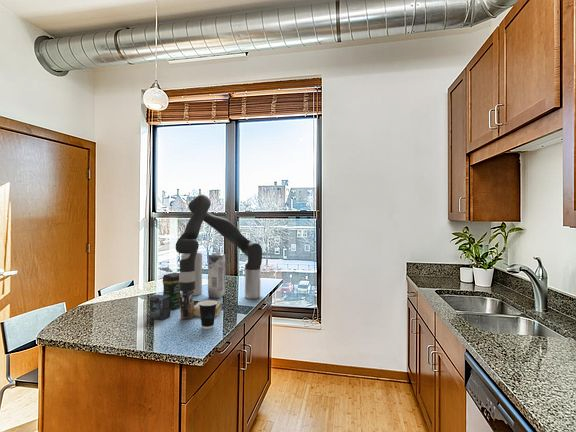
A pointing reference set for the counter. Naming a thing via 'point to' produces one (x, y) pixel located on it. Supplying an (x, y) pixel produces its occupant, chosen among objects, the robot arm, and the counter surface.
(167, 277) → the coffee jar
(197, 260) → the cylinder vase
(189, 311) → the walnut block
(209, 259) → the juice carton
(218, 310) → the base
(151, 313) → the box
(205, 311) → the dixie cup
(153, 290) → the counter surface
